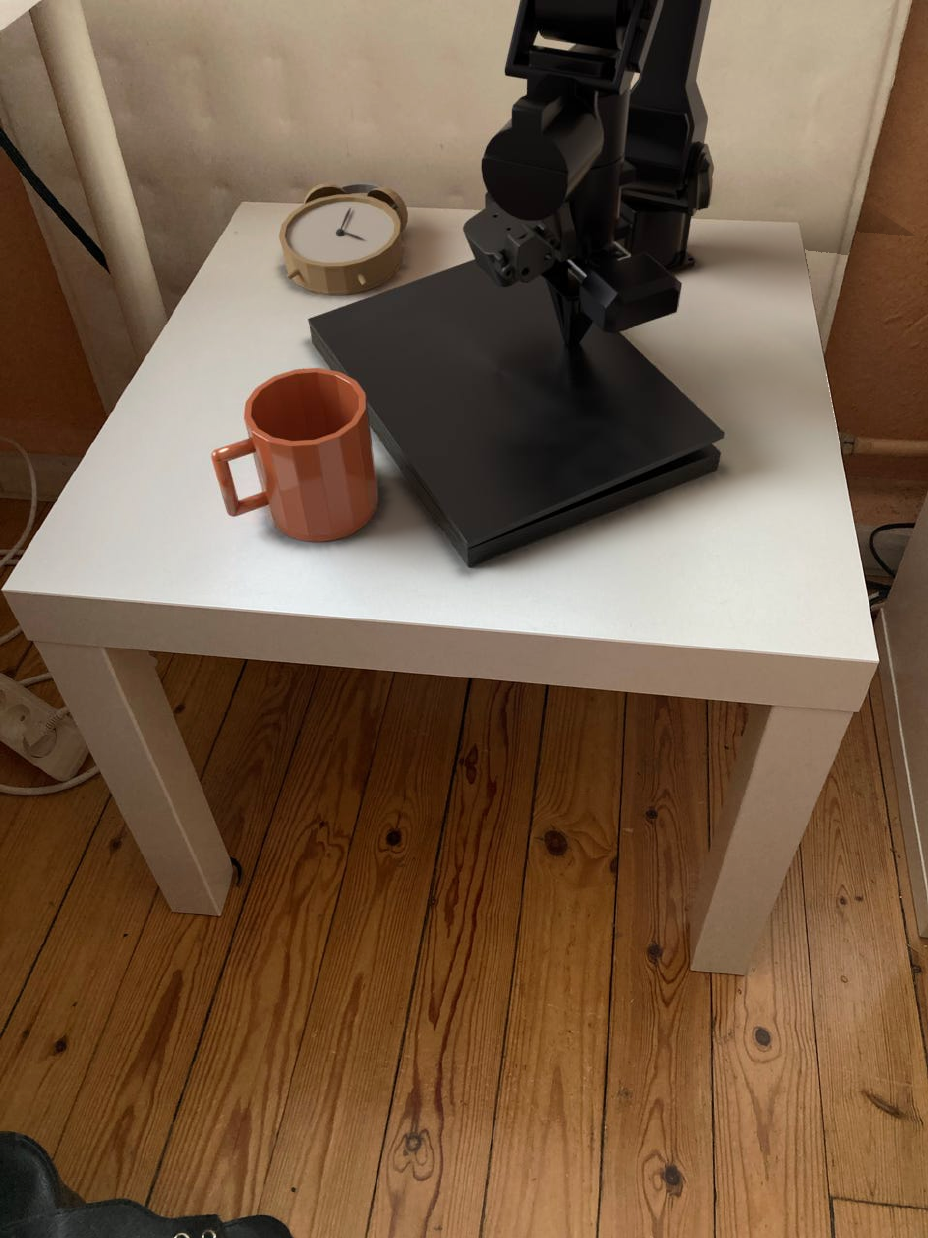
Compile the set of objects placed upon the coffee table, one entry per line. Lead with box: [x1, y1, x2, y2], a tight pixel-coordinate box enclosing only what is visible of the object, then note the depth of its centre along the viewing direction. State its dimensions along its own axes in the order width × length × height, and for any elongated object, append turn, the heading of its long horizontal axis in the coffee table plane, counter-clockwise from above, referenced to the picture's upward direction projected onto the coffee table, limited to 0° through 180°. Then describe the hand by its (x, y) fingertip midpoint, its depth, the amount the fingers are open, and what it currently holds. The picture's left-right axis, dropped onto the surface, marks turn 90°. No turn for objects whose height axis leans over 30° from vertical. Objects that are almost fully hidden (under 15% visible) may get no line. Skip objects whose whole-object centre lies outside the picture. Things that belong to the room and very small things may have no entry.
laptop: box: [309, 325, 722, 568], centre depth 82 cm, size 21×30×2 cm
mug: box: [210, 367, 380, 543], centre depth 72 cm, size 11×8×9 cm
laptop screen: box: [307, 258, 726, 548], centre depth 81 cm, size 21×30×1 cm
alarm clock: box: [278, 182, 409, 296], centre depth 97 cm, size 11×5×15 cm
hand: (571, 342), depth 82 cm, fingers closed, pressing on laptop screen
